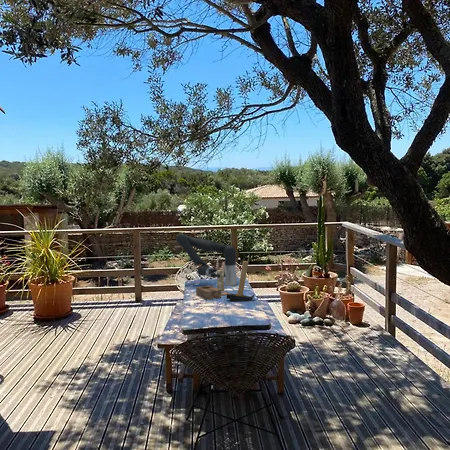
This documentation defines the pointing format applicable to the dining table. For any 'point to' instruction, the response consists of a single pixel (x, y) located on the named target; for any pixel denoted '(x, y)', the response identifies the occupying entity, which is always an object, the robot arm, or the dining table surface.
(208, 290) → the walnut toolbox
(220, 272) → the maple key
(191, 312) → the dining table surface
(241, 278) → the hammer
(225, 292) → the terracotta tile
